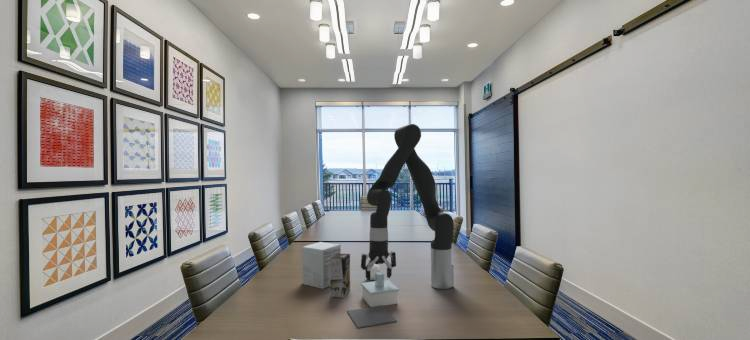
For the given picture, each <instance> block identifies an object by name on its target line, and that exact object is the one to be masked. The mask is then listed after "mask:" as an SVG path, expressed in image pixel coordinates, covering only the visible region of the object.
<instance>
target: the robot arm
mask: <svg viewBox="0 0 750 340" xmlns="http://www.w3.org/2000/svg"><path fill="white" fill-rule="evenodd" d="M393 137H394V141H395V144H396V146H397V149H396V151H395V152H394V153H393V154H392V156H391V157H390V158H389V159H388V160H387V162H386V163H385V165H384V167H383V169H382V171H381V173H380V174H379V177H378V178H377V180H375V182H374V183H373V184H372V185H371V187H370V188H369V189H368V192H367V194H366V202H367V204H368V205H370V206H371V207H373V206H374V207H376V209H375V212H372V213H370V217H369V224H370V225H369V246H368V247H369V250H368V251H369V252H368V253H365V252H364V253H363V252H362V253H361V259H360V260H361V262H360V268H361V269H362V270H363V271H365V270H366V275H365V279H366V280H367V281H371V280H370V269H371V267H373V265H374V264H377V265H379V264H380V265H383V264H385V265H386V278H387V279H390V278H391V277H392V269H393V268H394V267H397V256H396V251H393V250H391V251H389V231H388V217H389V212H390V208H391V205H392V195H391V192H390V191H389V190H388V189H391V188H394V186H395V184H396V182H397V181H398V178H399V176H400V174H401V171H402V169H403V167H404V166H405V164H406V168H407V170H408V172H409V174H410V177H411V180H412V183H413V185H414V187H415V190H416V193H417V195H418V198H419V200H420V202H421V205H422V209H423V210H424V211H423V212H424V214H425V218H426V223H427V225H428V227H429V228H430V230H432V231H433V232H434V239H432V240H431V242H430V282H431V283H430V285H431V287H432V288H434V289H436V290H437V289H439V290H448V289H451V288H452V287H453V286H454V287H455V282H454V281H455V280H454V279H455V278H454V277H455V272H454V270H455V269H454V265H453V264H452V258H453V257H452V256H453V255H452V245H453V243H454V233H455V232H454V231H455V230H454V227H455V225H454V223H455V222H454V219H453V217H452V215H451V214H449V213H447V212H442V211H441V209H440V208H441V207H440V205H439V203H438V201H437V184H436V182H435V179H434V175H433V173H432V170H431V168H430V167H429V166H428V165H427V163H425V161H424V160H423V159H422V158H420V156H419V155H418V153H417V151H416V150H415V148H416V146H417V145H418V144H419V142H420V140H421V137H422V131H421V129H420V126H418V125H417V124H414V123H409V124H406V125H403V126H401V127H398V128H396V130H394V135H393ZM389 257H390V262H389V260H388V258H389ZM368 258H369V260H368ZM367 260H368V262H367Z"/></svg>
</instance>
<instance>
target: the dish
mask: <svg viewBox="0 0 750 340" xmlns="http://www.w3.org/2000/svg"><path fill="white" fill-rule="evenodd" d="M361 288H362V299H363V300H364V301H365V303H367V305H368V307H375V306H381V305H383V306H384V307H385V306H390V305H396V304H397V305H398V291H396V292H389V293H381V294H374V295H370V294H369V293H368V292H367V291H366V290H365V289H364V288H363V287H362V286H361Z"/></svg>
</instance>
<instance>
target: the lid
mask: <svg viewBox="0 0 750 340" xmlns="http://www.w3.org/2000/svg"><path fill="white" fill-rule="evenodd" d="M360 286H361V288H362V287H363V288H364V289H365V290H366V291H367V292H368V293H369V294H370V295H374V294H381V293H389V292H396V291H397V292H400V288H398V287H397V286H396V285H395V284H394V283H393V282H391V281H390V280H389V279H385V274H384V273H383V272H382V271H381V272H378V273H375V280H372V281H366V282H360Z"/></svg>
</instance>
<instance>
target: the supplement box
mask: <svg viewBox="0 0 750 340" xmlns="http://www.w3.org/2000/svg"><path fill="white" fill-rule="evenodd" d="M341 246H342V245H341V244H338V243H330V242H324V241H319V242H315V243H311V244H306V245H304V246H301V251H302V252H301V253H302V254H301V258H302V259H301V261H302V262H301V263H302V265H301V266H302V270H301V271H302V274H301V277H302V279H301V280H302V285H306V286H310V287H315V288H317V289H321V290H324V289H326V288H328V287H330V258H332V257H333V256H334V255H336V254H342V252H341V251H342V250H341Z"/></svg>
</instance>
